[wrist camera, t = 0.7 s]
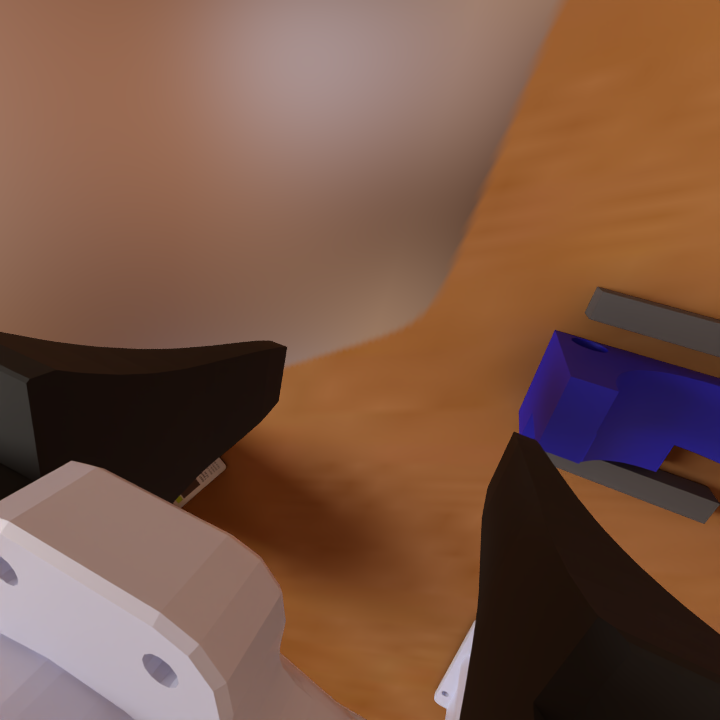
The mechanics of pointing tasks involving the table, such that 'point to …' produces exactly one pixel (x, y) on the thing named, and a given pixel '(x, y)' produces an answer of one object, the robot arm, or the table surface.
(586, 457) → the cable clip
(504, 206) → the table surface
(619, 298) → the guide channel
